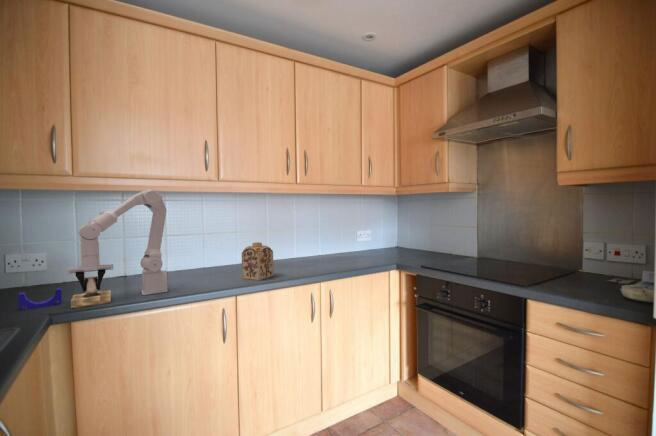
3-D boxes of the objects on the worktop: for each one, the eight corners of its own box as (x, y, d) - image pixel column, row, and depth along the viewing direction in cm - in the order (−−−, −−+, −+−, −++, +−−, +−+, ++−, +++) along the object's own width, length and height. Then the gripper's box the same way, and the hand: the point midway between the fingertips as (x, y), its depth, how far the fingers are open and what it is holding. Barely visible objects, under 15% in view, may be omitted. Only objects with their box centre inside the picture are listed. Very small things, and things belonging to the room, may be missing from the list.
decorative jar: (241, 278, 166) (240, 243, 165) (256, 274, 176) (255, 241, 175) (260, 281, 160) (259, 244, 160) (274, 276, 170) (273, 241, 170)
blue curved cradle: (62, 302, 129) (61, 287, 129) (61, 304, 126) (61, 289, 126) (21, 308, 122) (20, 292, 122) (19, 311, 119) (18, 294, 118)
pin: (98, 295, 130) (97, 275, 129) (97, 298, 126) (96, 277, 126) (86, 297, 128) (85, 277, 127) (84, 299, 124) (84, 278, 124)
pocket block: (110, 297, 134) (110, 290, 134) (110, 303, 126) (110, 295, 126) (73, 302, 128) (73, 294, 128) (71, 308, 119) (70, 300, 119)
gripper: (112, 252, 134) (114, 285, 134) (67, 255, 126) (68, 291, 126) (112, 254, 128) (114, 288, 128) (65, 258, 120) (66, 294, 120)
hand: (91, 290), depth 127 cm, fingers closed on pin, 4 cm apart
